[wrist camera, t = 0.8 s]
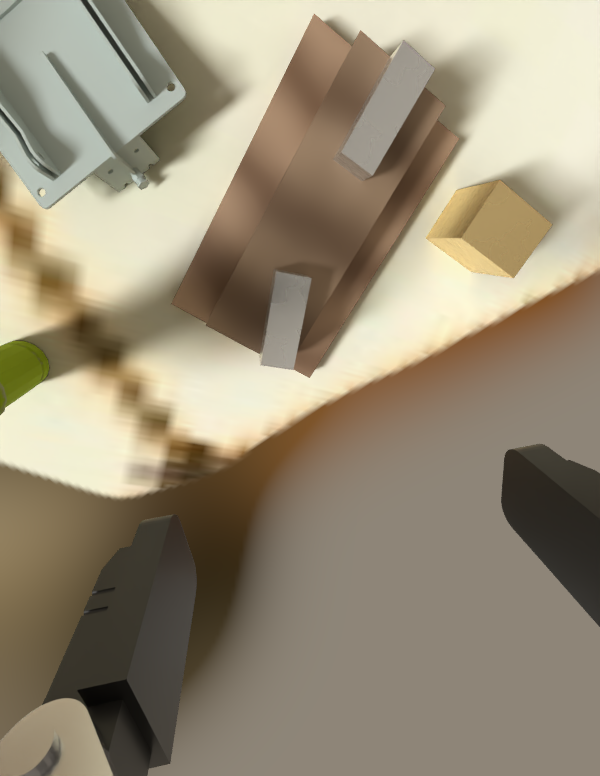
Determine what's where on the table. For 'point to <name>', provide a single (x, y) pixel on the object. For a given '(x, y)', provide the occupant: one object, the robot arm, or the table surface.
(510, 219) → the natural wood cube
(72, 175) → the metal bracket
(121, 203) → the table surface
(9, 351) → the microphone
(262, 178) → the base
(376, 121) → the grey bar
